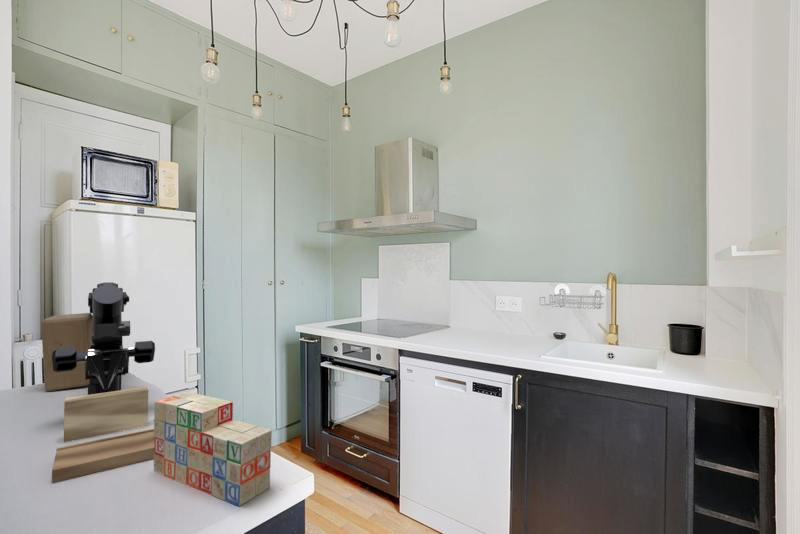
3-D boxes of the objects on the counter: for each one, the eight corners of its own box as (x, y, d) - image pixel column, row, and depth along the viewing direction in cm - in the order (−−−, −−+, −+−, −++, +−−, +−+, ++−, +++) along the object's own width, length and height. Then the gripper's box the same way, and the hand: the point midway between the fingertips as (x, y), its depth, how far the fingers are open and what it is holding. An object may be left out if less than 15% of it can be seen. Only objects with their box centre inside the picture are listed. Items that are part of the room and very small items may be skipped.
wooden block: (44, 392, 107) (39, 319, 107) (54, 383, 116) (50, 315, 115) (90, 385, 112) (86, 316, 112) (96, 377, 121) (93, 312, 120)
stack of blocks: (271, 487, 63) (272, 410, 63) (239, 508, 58) (240, 424, 58) (186, 456, 73) (188, 389, 73) (152, 471, 67) (153, 399, 68)
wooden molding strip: (56, 459, 71) (57, 446, 71) (154, 438, 80) (154, 427, 80) (51, 482, 63) (52, 468, 63) (160, 457, 72) (160, 444, 72)
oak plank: (64, 437, 80) (65, 398, 80) (146, 422, 89) (146, 386, 89) (63, 442, 78) (64, 402, 78) (147, 426, 86) (148, 389, 86)
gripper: (53, 311, 85) (46, 375, 76) (155, 307, 96) (159, 363, 87) (56, 341, 91) (50, 403, 83) (151, 334, 103) (154, 388, 94)
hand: (106, 388), depth 87 cm, fingers closed
